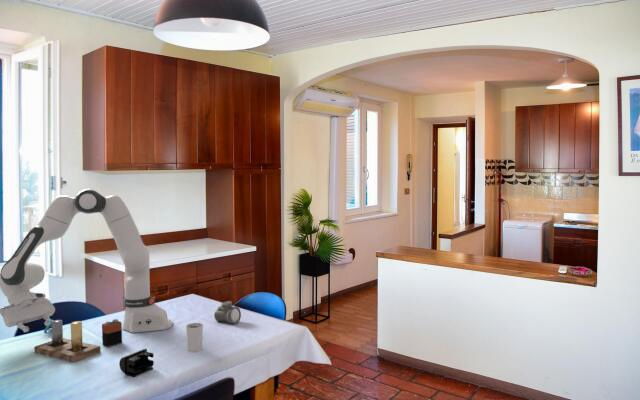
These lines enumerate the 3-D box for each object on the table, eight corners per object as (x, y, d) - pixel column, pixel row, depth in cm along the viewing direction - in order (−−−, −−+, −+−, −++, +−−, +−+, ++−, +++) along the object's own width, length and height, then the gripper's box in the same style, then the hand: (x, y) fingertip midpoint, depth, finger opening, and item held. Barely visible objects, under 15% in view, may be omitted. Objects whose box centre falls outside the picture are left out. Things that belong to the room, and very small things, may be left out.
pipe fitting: (243, 320, 240) (239, 300, 240) (232, 326, 233) (228, 305, 233) (224, 319, 246) (220, 299, 246) (213, 325, 239) (209, 305, 239)
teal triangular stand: (63, 329, 225) (45, 315, 223) (53, 339, 223) (34, 326, 220) (63, 325, 235) (46, 313, 232) (53, 336, 233) (36, 323, 230)
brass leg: (84, 352, 200) (83, 321, 199) (80, 356, 196) (79, 324, 195) (74, 353, 199) (72, 321, 199) (70, 356, 196) (69, 324, 195)
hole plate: (34, 352, 200) (34, 346, 200) (61, 343, 211) (61, 337, 211) (74, 362, 190) (73, 356, 190) (100, 352, 200) (100, 346, 200)
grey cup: (188, 353, 198) (188, 328, 198) (185, 348, 204) (184, 324, 204) (205, 350, 202) (204, 326, 201) (201, 345, 207) (200, 321, 207)
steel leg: (65, 348, 205) (63, 319, 205) (61, 351, 201) (59, 322, 201) (54, 348, 205) (53, 320, 204) (50, 352, 201) (49, 323, 200)
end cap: (141, 364, 187) (141, 347, 187) (154, 368, 184) (154, 350, 183) (119, 374, 179) (118, 355, 178) (132, 378, 175) (132, 359, 175)
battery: (122, 342, 211) (121, 319, 211) (107, 347, 206) (106, 323, 205) (117, 340, 214) (116, 318, 213) (102, 345, 209) (101, 321, 208)
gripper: (0, 303, 202) (16, 330, 198) (47, 292, 220) (63, 317, 216) (-6, 313, 204) (10, 339, 200) (41, 301, 222) (56, 325, 218)
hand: (38, 327), depth 208 cm, fingers open, 8 cm apart
